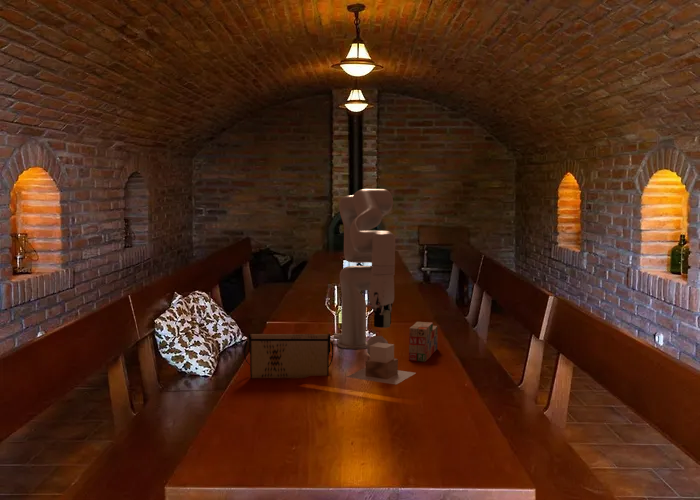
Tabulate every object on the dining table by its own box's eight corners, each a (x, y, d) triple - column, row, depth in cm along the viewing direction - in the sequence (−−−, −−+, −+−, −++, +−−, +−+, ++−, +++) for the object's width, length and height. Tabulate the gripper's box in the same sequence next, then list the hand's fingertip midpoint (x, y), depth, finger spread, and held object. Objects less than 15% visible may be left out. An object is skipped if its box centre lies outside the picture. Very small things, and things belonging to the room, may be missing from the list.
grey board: (346, 380, 242) (346, 376, 242) (368, 369, 256) (368, 366, 256) (396, 388, 233) (396, 384, 233) (416, 376, 247) (416, 372, 247)
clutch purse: (333, 374, 250) (333, 330, 248) (333, 379, 243) (334, 334, 241) (245, 374, 248) (244, 330, 247) (243, 380, 242) (242, 334, 240)
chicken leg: (362, 368, 260) (372, 349, 258) (362, 347, 277) (371, 328, 275) (384, 377, 261) (394, 358, 258) (382, 355, 278) (392, 337, 276)
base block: (365, 376, 243) (365, 361, 242) (376, 370, 250) (376, 356, 249) (387, 379, 239) (387, 364, 238) (397, 373, 246) (397, 358, 246)
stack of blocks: (421, 348, 289) (422, 316, 288) (437, 349, 287) (438, 318, 286) (408, 360, 269) (409, 327, 268) (425, 362, 267) (426, 328, 266)
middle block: (369, 360, 243) (369, 345, 242) (377, 357, 248) (377, 342, 247) (386, 363, 240) (386, 348, 239) (393, 359, 245) (394, 344, 245)
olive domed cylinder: (372, 326, 241) (372, 311, 241) (379, 324, 246) (379, 309, 245) (386, 328, 239) (386, 313, 239) (392, 325, 243) (392, 310, 243)
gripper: (383, 267, 250) (383, 320, 252) (361, 272, 235) (360, 328, 237) (404, 268, 247) (403, 322, 248) (382, 273, 232) (381, 331, 233)
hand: (382, 324), depth 242 cm, fingers closed on olive domed cylinder, 4 cm apart
